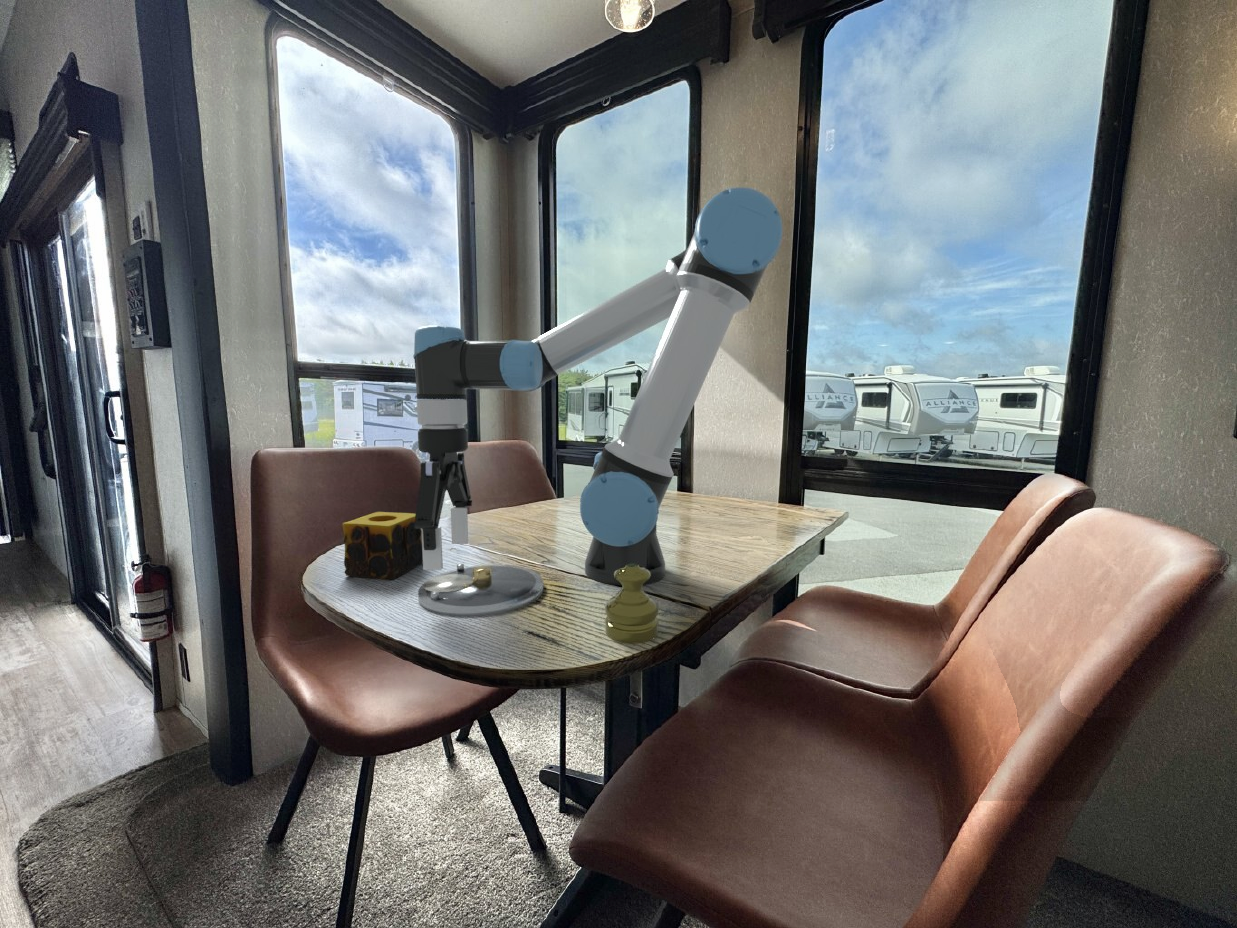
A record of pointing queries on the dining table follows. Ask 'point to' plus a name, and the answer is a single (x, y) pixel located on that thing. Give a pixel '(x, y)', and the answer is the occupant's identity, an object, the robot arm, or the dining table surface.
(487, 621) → the dining table surface
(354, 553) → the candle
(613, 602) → the gold pawn
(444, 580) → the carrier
